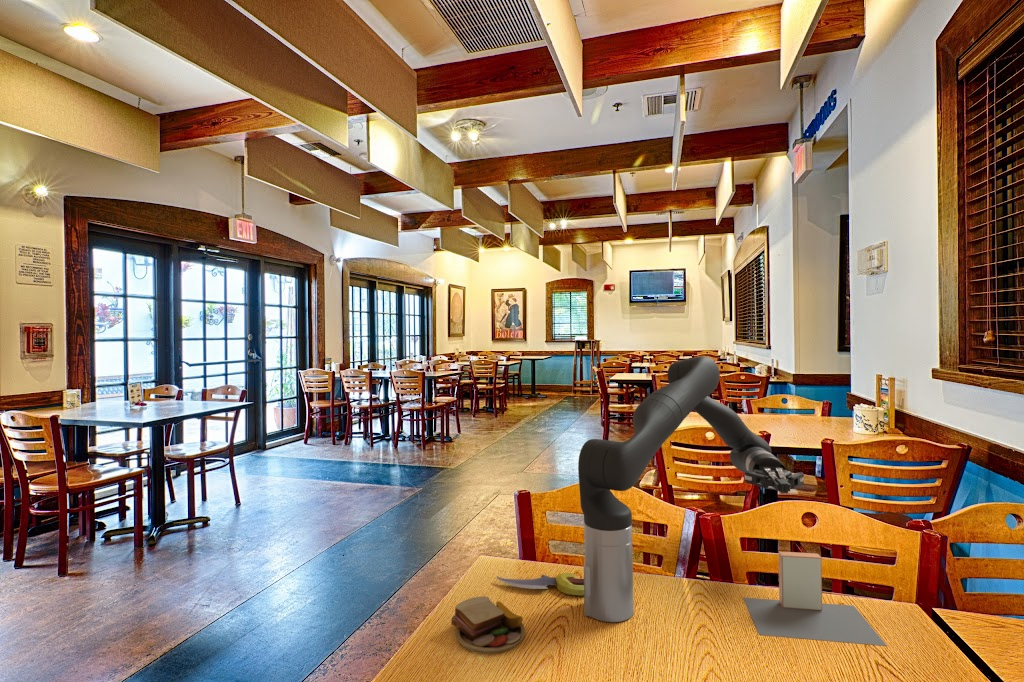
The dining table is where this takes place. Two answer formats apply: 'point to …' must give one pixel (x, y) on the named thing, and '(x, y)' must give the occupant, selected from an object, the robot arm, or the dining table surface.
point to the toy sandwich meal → (487, 626)
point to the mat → (812, 622)
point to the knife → (551, 583)
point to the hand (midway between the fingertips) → (784, 488)
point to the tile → (800, 580)
